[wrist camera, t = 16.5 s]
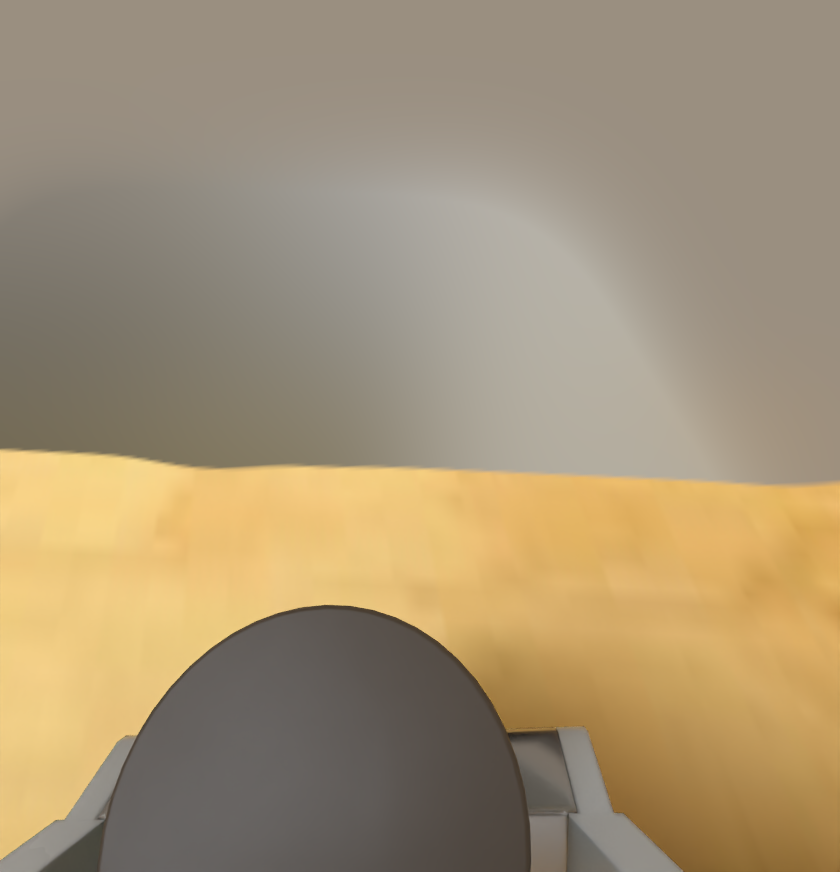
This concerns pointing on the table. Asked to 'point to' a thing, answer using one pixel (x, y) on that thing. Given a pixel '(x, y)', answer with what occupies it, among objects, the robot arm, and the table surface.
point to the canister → (321, 758)
